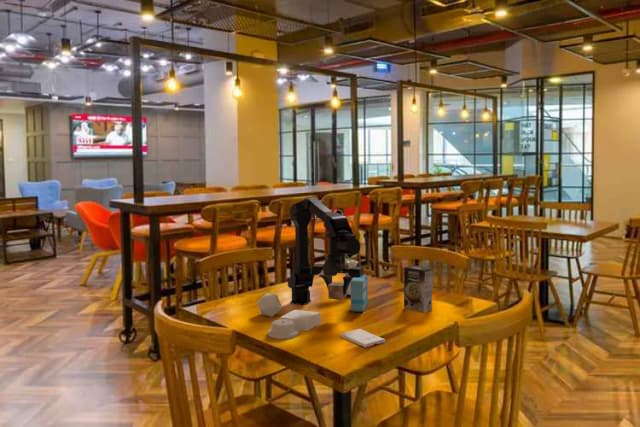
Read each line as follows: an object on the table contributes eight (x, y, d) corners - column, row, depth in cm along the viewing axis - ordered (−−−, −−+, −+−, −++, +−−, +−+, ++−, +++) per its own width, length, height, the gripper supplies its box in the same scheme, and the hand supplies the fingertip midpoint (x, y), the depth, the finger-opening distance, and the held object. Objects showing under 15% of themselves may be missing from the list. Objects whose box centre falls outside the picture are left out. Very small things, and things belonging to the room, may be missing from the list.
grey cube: (328, 298, 195) (328, 284, 195) (333, 295, 200) (333, 281, 199) (341, 300, 193) (341, 286, 193) (346, 296, 198) (346, 283, 197)
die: (286, 316, 203) (280, 292, 208) (278, 310, 196) (272, 285, 200) (266, 323, 205) (261, 299, 209) (257, 317, 197) (252, 293, 202)
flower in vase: (370, 292, 234) (370, 234, 231) (357, 298, 224) (357, 238, 222) (344, 289, 241) (343, 232, 238) (330, 294, 231) (329, 235, 229)
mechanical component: (262, 336, 179) (287, 341, 174) (261, 323, 178) (286, 328, 173) (280, 328, 187) (304, 333, 182) (279, 315, 187) (304, 320, 182)
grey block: (280, 328, 188) (280, 317, 188) (295, 320, 197) (294, 309, 196) (306, 332, 183) (306, 320, 183) (320, 323, 192) (319, 312, 192)
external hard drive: (360, 333, 182) (385, 343, 172) (340, 338, 177) (365, 349, 167) (360, 328, 182) (385, 338, 172) (340, 333, 177) (364, 343, 167)
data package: (362, 313, 204) (362, 281, 202) (350, 312, 205) (350, 280, 203) (367, 304, 215) (367, 274, 214) (356, 304, 216) (356, 274, 215)
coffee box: (403, 308, 209) (403, 267, 207) (412, 305, 213) (412, 264, 212) (423, 313, 202) (424, 270, 201) (433, 309, 207) (433, 267, 205)
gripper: (303, 253, 191) (304, 297, 193) (354, 256, 184) (354, 302, 185) (316, 248, 201) (317, 290, 203) (364, 251, 194) (365, 294, 196)
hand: (337, 294), depth 196 cm, fingers closed on grey cube, 5 cm apart
